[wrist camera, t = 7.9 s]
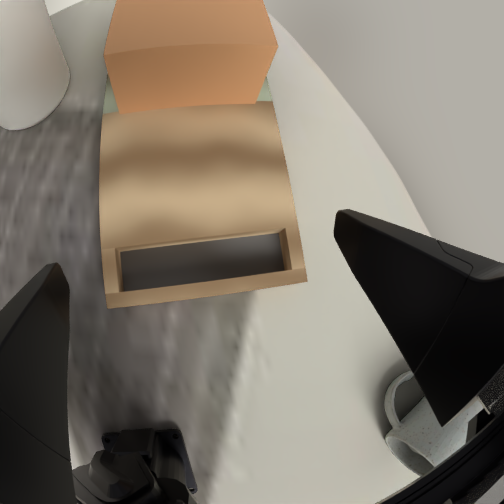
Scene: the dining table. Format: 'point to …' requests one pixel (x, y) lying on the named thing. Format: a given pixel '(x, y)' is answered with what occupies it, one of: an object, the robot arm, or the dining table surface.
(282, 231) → the box
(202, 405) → the dining table surface
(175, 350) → the dining table surface
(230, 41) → the block
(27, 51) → the alcohol
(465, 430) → the ceramic mug
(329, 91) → the dining table surface
